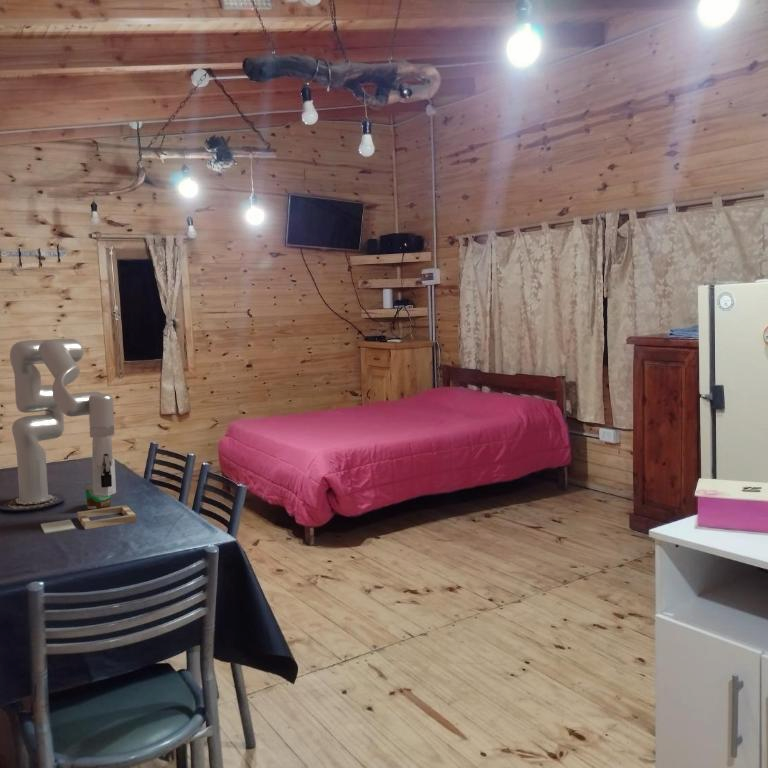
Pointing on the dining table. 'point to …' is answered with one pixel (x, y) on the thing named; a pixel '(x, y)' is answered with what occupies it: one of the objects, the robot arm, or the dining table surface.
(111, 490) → the skincare box
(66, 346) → the robot arm
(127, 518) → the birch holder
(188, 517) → the dining table surface
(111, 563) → the dining table surface
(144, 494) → the dining table surface
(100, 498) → the food container
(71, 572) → the dining table surface
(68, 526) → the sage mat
